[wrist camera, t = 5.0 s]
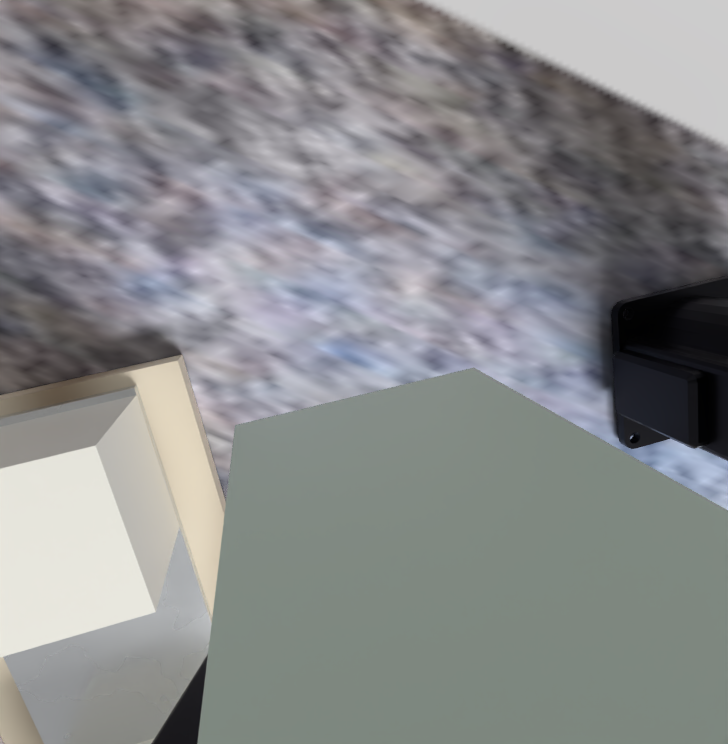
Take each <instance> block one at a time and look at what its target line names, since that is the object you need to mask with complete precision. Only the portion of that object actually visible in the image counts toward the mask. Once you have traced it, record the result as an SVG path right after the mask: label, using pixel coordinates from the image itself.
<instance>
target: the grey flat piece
mask: <svg viewBox="0 0 728 744" xmlns="http://www.w3.org/2000/svg"><path fill="white" fill-rule="evenodd" d="M135 395H137V398H138V401H139V404H140V407H141V411H142V414H143V417H144V420H145V423H146V426H147V429H148V432H149V435H150V438H151V441H152V444H153V447H154V450H155V453H156V456H157V459H158V462H159V465H160V468H161V471H162V474H163V478H164V481H165V484H166V487H167V490H168V493H169V496H170V499H171V502H172V505H173V508H174V511H175V514H176V517H177V520H178V523H179V526H180V527H179V530H178V534H177V537H176V541H175V545H174V548H173V552H172V555H171V559H170V563H169V566H168V570H167V573H166V577H165V581H164V584H163V588H162V592H161V595H160V599H159V602H158V606H157V610H156V612H155V613H151V614H148V615H144V616H141V617H137V618H134V619H131V620H127V621H124V622H120V623H117V624H113V625H110V626H107V627H103V628H100V629H96V630H93V631H89V632H86V633H83V634H79V635H76V636H72V637H69V638H65V639H62V640H59V641H55V642H52V643H48V644H45V645H41V646H38V647H35V648H31V649H28V650H24V651H21V652H17V653H14V654H11V655H7V656H4V657H3V658H4V660H5V662H6V664H7V667H8V669H9V671H10V673H11V675H12V677H13V679H14V681H15V683H16V686H17V688H18V690H19V692H20V694H21V696H22V698H23V700H24V703H25V705H26V707H27V709H28V711H29V713H30V715H31V717H32V719H33V722H34V724H35V726H36V728H37V730H38V732H39V734H40V736H41V738H42V741H43V743H44V744H137V743H140V742H144V741H147V740H150V739H153V738H155V737H156V735H157V733H158V732H159V730H160V729H161V727H162V726H163V724H164V722H165V721H166V719H167V718H168V716H169V714H170V713H171V711H172V710H173V708H174V706H175V705H176V703H177V702H178V700H179V698H180V697H181V695H182V694H183V692H184V691H185V689H186V687H187V686H188V684H189V683H190V681H191V679H192V678H193V676H194V675H195V673H196V671H197V670H198V668H199V667H200V665H201V663H202V662H203V660H204V659H205V657H206V656H207V654H208V650H209V641H210V633H211V625H212V614H211V611H210V608H209V605H208V602H207V598H206V595H205V592H204V589H203V586H202V583H201V580H200V577H199V574H198V571H197V568H196V565H195V562H194V559H193V556H192V552H191V549H190V546H189V543H188V540H187V537H186V534H185V531H184V528H183V525H182V522H181V519H180V516H179V513H178V510H177V506H176V503H175V500H174V497H173V494H172V491H171V488H170V485H169V482H168V479H167V476H166V473H165V470H164V467H163V464H162V461H161V457H160V454H159V451H158V448H157V445H156V442H155V439H154V436H153V433H152V430H151V427H150V424H149V421H148V418H147V415H146V411H145V408H144V405H143V402H142V399H141V396H140V393H139V390H138V387H137V385H134V386H130V387H125V388H121V389H116V390H112V391H108V392H103V393H99V394H95V395H90V396H86V397H82V398H77V399H73V400H68V401H64V402H60V403H55V404H51V405H47V406H42V407H38V408H33V409H29V410H25V411H20V412H16V413H12V414H7V415H3V416H0V427H1V426H5V425H10V424H14V423H18V422H22V421H27V420H31V419H35V418H40V417H44V416H48V415H53V414H57V413H61V412H66V411H70V410H74V409H79V408H83V407H87V406H92V405H96V404H100V403H104V402H109V401H113V400H117V399H122V398H126V397H130V396H135Z"/></svg>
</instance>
